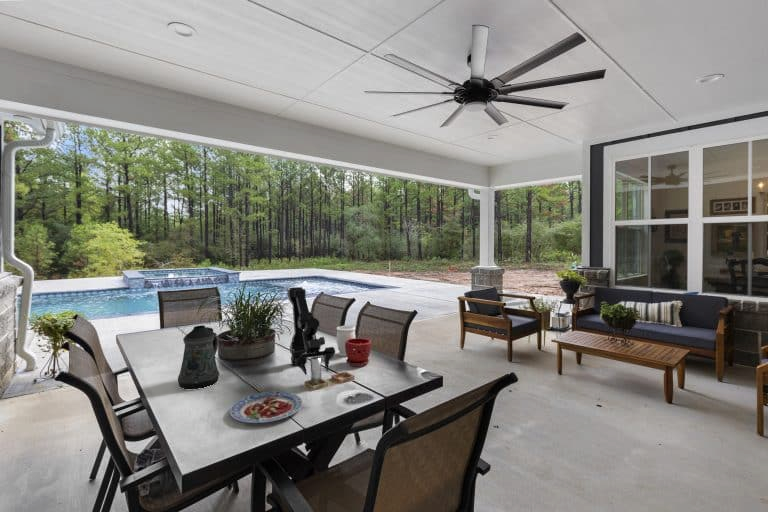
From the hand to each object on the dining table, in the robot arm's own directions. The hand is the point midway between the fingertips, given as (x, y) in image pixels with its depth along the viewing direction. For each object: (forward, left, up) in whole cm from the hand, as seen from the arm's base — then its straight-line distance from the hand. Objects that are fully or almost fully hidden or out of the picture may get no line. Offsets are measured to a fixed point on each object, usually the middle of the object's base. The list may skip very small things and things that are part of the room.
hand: (316, 372), depth 161 cm
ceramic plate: (-13, -22, -7) cm, 27 cm away
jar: (+4, +48, -7) cm, 49 cm away
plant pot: (+13, +33, -7) cm, 36 cm away
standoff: (-1, +1, -6) cm, 6 cm away
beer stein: (-54, +3, -7) cm, 55 cm away
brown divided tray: (+4, +5, -7) cm, 10 cm away
